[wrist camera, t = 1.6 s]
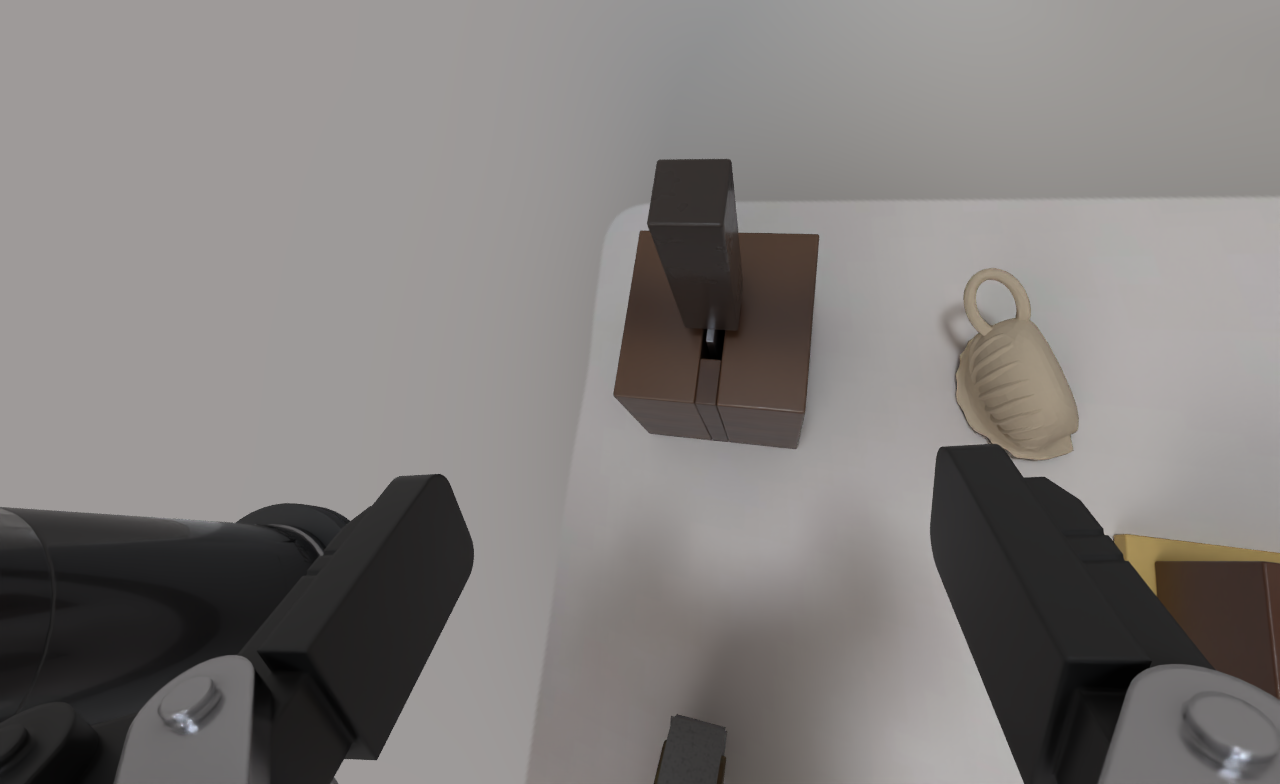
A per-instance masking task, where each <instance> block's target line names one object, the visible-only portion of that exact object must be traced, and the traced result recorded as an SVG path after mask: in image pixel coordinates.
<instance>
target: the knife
mask: <svg viewBox="0 0 1280 784" xmlns="http://www.w3.org/2000/svg"><path fill="white" fill-rule="evenodd" d="M647 225H648V228H649V230H650V233H651V236H652V238H653V241H654V244H655V247H656V249H657V252H658V255H659V258H660V260H661V263H662V266H663V269H664V271H665V274H666V277H667V279H668V282H669V285H670V288H671V290H672V293H673V296H674V299H675V301H676V304H677V307H678V309H679V312H680V315H681V318H682V320H683V323H684V326H685V327H686V328H699V329H707V337H706V342H707V346H708V349H709V352H710V356H711V359H714V360H721V361H722V353H723V344H724V336H725V330H732V331H736V330H738V326H739V317H740V308H741V299H742V290H743V275H742V265H741V255H740V245H739V235H738V224H737V214H736V204H735V194H734V184H733V173H732V163H731V160H729V159H684V160H683V159H678V160H658V161H657V165H656V171H655V178H654V184H653V190H652V196H651V203H650V209H649V215H648V221H647Z"/></svg>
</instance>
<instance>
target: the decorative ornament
mask: <svg viewBox="0 0 1280 784" xmlns="http://www.w3.org/2000/svg"><path fill="white" fill-rule="evenodd" d="M986 280H996V281H999V282H1001V283H1003V284H1004V285H1005V286H1006V287H1007V288H1008V289H1009V290H1010V292H1011V293H1012V295H1013V297H1014V299H1015V303H1016V307H1017V312H1016V318H1013V319H1008V320H1005V321H1002V322H999V323H997V324H995V325H993V326H990V325H989V324H987V323H986V322H985V321H984V320H983V318H982V317H981V316H980V314H979V311H978V309H977V305H976V292H977V289H978V287H979V285H980V284H981V283H982V282H984V281H986ZM963 299H964V308H965V311H966V314H967V316H968V319H969V321H970V322H971V324H972V325H973V326H974V328H975V329H976V330H977V331H978V332H979V333H978V334H977V335H976V336H975V337H974V338H973V339H971V340H970V341H969V342H968V343H967V346H966V349H965V350H964V351H963V352H962V354H961V355H960V366H959V369H958V371H957V373H956V380H957V392H956V397H957V402H958V404H959V405H960V407H961V408H962V410H963V412H964V414H965V417H966V420H967V421H968V423H969V425H970V426H971V427H972V428H973V429H974V430H975V431H976V432H978V433H979V434H982V435H984V436H986V437H988V438H989V439H990V441H991V442H992V444H998V445H1000V446H1001V447H1002V448H1003V449H1006V450H1008V451H1009V452H1010V453H1011V454H1012V455H1013V456H1015V457H1017V458H1024V459H1034V460H1047V459H1051V458H1054V457H1058V456H1061V455H1065V454H1067V453H1069V452H1071V451H1073V446H1072V441H1071V434H1073V433H1075V432H1077V430H1078V420H1079V417H1078V411H1077V406H1076V403H1075V400H1074V397H1073V394H1072V392H1071V389H1070V387H1069V385H1068V383H1067V380H1066V378H1065V376H1064V374H1063V371H1062V369H1061V367H1060V365H1059V363H1058V361H1057V359H1056V357H1055V355H1054V354H1053V352H1052V350H1051V348H1050V346H1049V344H1048V342H1047V341H1046V339H1045V338H1044V336H1043V335H1042V333H1041V332H1040V330H1039V329H1038V327H1037V326H1036V325H1035V324H1034V323H1033V322H1031V321H1030V316H1031V308H1030V302H1029V299H1028V296H1027V293H1026V291H1025V289H1024V288H1023V286H1022V285H1021V284H1020V282H1019V281H1018V280H1017V279H1016V278H1015V277H1014V276H1013V275H1011V274H1010V273H1008V272H1006V271H1003V270H1000V269H996V268H989V269H984V270H981V271H979V272H977V273H976V274H975V275H973V276H972V277H971V279H970V280H969V281H968V283H967V285H966V288H965V290H964V298H963Z"/></svg>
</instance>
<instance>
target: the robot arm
mask: <svg viewBox="0 0 1280 784" xmlns="http://www.w3.org/2000/svg"><path fill="white" fill-rule="evenodd" d="M1103 530H1104V529H1103V528H1102V527H1101V526H1100V524H1099V523H1098V522H1097V520H1096V519H1095V518H1094V517H1093V515H1092V514H1091V513H1090V512H1089V510H1088V509H1087V508H1086V507H1085V505H1084V504H1083V503H1082V502H1081V500H1079V499H1078V498H1076V497H1075V496H1073V495H1072V494H1070V493H1069V492H1067V491H1066V490H1064V489H1062V488H1061V487H1059V486H1058V485H1056V484H1055V483H1053V482H1052V481H1050V480H1049V479H1047V478H1046V477H1029V478H1023V476H1022V475H1021V473H1020V472H1019V470H1018V469H1017V468H1016V466H1015V465H1014V463H1013V462H1012V460H1011V459H1010V458H1009V456H1008V455H1007V453H1006V452H1005V450H1004V449H1003V448H1002V447H1001V446H1000V445H998V444H983V445H965V446H948V447H941V448H940V449H939V450H938V453H937V457H936V466H935V477H934V488H933V500H932V511H931V522H930V537H931V546H932V552H933V557H934V561H935V564H936V567H937V570H938V572H939V575H940V577H941V580H942V582H943V585H944V587H945V590H946V592H947V595H948V597H949V599H950V602H951V604H952V607H953V609H954V612H955V614H956V617H957V619H958V622H959V624H960V627H961V629H962V631H963V634H964V636H965V639H966V641H967V644H968V646H969V649H970V651H971V654H972V656H973V659H974V661H975V664H976V666H977V668H978V671H979V673H980V676H981V678H982V681H983V683H984V686H985V688H986V691H987V693H988V696H989V698H990V700H991V703H992V705H993V708H994V710H995V713H996V715H997V718H998V720H999V723H1000V725H1001V728H1002V730H1003V733H1004V735H1005V737H1006V740H1007V742H1008V745H1009V747H1010V750H1011V752H1012V755H1013V757H1014V760H1015V762H1016V765H1017V767H1018V769H1019V772H1020V774H1021V777H1022V779H1023V782H1024V784H1280V700H1279V699H1277V698H1276V697H1274V696H1272V695H1271V694H1269V693H1267V692H1265V691H1263V690H1262V689H1260V688H1258V687H1256V686H1254V685H1252V684H1250V683H1248V682H1246V681H1243V680H1241V679H1239V678H1237V677H1234V676H1231V675H1228V674H1225V673H1223V672H1220V671H1216V670H1215V669H1214V667H1213V666H1212V665H1211V664H1210V663H1209V662H1208V660H1207V659H1206V658H1205V657H1204V655H1203V654H1202V653H1201V652H1200V650H1199V649H1198V648H1197V647H1196V645H1195V644H1194V643H1193V641H1192V640H1191V639H1190V638H1189V636H1188V635H1187V634H1186V633H1185V631H1184V630H1183V629H1182V628H1181V626H1180V625H1179V624H1178V623H1177V621H1176V620H1175V619H1174V618H1173V616H1172V615H1171V614H1170V612H1169V611H1168V610H1167V609H1166V607H1165V606H1164V605H1163V604H1162V602H1161V601H1160V600H1159V599H1158V597H1157V596H1156V595H1155V594H1154V592H1153V591H1152V590H1151V589H1150V587H1149V586H1148V585H1147V583H1146V582H1145V581H1144V580H1143V578H1142V577H1141V576H1140V575H1139V573H1138V572H1137V571H1136V570H1135V568H1134V567H1133V566H1132V565H1131V563H1130V562H1129V561H1125V560H1124V558H1123V553H1122V552H1121V551H1120V549H1119V548H1118V547H1117V546H1116V544H1115V543H1114V542H1113V541H1112V539H1111V538H1110V537H1109V536H1108V535H1104V532H1103ZM473 560H474V549H473V542H472V539H471V536H470V533H469V531H468V528H467V526H466V523H465V521H464V518H463V516H462V513H461V511H460V508H459V506H458V503H457V501H456V498H455V496H454V493H453V490H452V488H451V486H450V483H449V481H448V480H447V478H445V477H444V476H443V475H441V474H432V475H414V476H399V477H397V478H395V479H394V480H393V481H392V482H391V483H390V484H389V485H388V487H387V488H386V489H385V490H384V492H383V493H382V494H381V495H380V497H379V498H378V499H377V501H376V502H375V503H374V504H373V505H372V506H370V507H369V508H367V509H366V510H365V511H363V512H362V513H361V514H360V515H358V516H357V517H355V518H354V519H353V520H352V521H350V522H349V523H348V524H346V525H345V526H344V527H342V529H341V530H340V531H339V532H338V533H337V535H336V536H335V537H334V538H333V540H332V541H331V542H330V543H329V544H328V546H327V547H326V546H325V545H324V544H323V543H322V542H321V541H320V540H319V539H318V538H317V537H316V536H315V535H313V534H312V533H310V532H309V531H307V530H305V529H302V528H299V527H296V526H291V525H279V524H267V525H265V524H255V525H254V524H240V523H228V522H213V521H198V520H186V519H185V520H184V519H169V518H155V517H140V516H125V515H110V514H94V513H79V512H66V511H50V510H35V509H21V508H6V507H0V784H338V783H337V781H336V779H335V778H334V776H335V774H336V772H337V770H338V769H339V767H340V765H341V763H342V761H343V760H344V759H362V760H377V759H378V757H379V755H380V753H381V751H382V749H383V747H384V745H385V743H386V741H387V739H388V737H389V735H390V733H391V731H392V729H393V727H394V725H395V723H396V721H397V719H398V717H399V715H400V713H401V711H402V709H403V707H404V705H405V703H406V701H407V699H408V697H409V695H410V693H411V691H412V689H413V687H414V685H415V683H416V681H417V679H418V677H419V676H420V673H421V672H422V670H423V667H424V665H425V664H426V662H427V659H428V657H429V656H430V654H431V652H432V650H433V648H434V646H435V644H436V642H437V640H438V638H439V636H440V633H441V632H442V630H443V628H444V626H445V624H446V622H447V620H448V618H449V616H450V614H451V612H452V610H453V608H454V606H455V604H456V602H457V600H458V598H459V596H460V594H461V592H462V590H463V588H464V586H465V584H466V582H467V580H468V578H469V576H470V574H471V571H472V566H473Z"/></svg>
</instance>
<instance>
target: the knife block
mask: <svg viewBox="0 0 1280 784" xmlns="http://www.w3.org/2000/svg"><path fill="white" fill-rule="evenodd" d="M738 235H739V245H740V255H741V265H742V275H743V290H742V299H741V308H740V317H739V326H738V330H736V331H732V330H725V336H724V344H723V353H722V361H721V360H714V359H711V356H710V352H709V349H708V346H707V342H706V337H707V329H699V328H686V327H685V326H684V323H683V320H682V318H681V315H680V312H679V309H678V307H677V304H676V301H675V299H674V296H673V293H672V290H671V288H670V285H669V282H668V279H667V277H666V274H665V271H664V269H663V266H662V263H661V260H660V258H659V255H658V252H657V249H656V247H655V244H654V241H653V238H652V236H651V233H650V231H640V234H639V240H638V247H637V253H636V259H635V265H634V271H633V277H632V283H631V290H630V296H629V302H628V308H627V314H626V320H625V326H624V333H623V339H622V345H621V351H620V357H619V363H618V370H617V376H616V382H615V388H614V394H613V395H614V397H615V398H616V399H617V400H618V401H619V402H620V403H621V404H622V405H623V406H624V407H625V408H626V409H627V410H628V411H629V412H630V414H631V415H632V416H633V417H634V418H635V419H636V420H637V421H638V422H639V423H640V424H641V425H642V426H643V427H644V428H645V429H646V430H647V431H648V432H649V433H650V434H659V435H669V436H678V437H688V438H697V439H707V440H716V441H725V442H728V441H730V442H735V443H745V444H754V445H763V446H773V447H782V448H792V449H796V448H797V445H798V441H799V437H800V432H801V428H802V424H803V420H804V415H805V409H806V397H807V384H808V372H809V359H810V346H811V334H812V321H813V309H814V296H815V284H816V271H817V259H818V246H819V235H818V234H776V233H738Z"/></svg>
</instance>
